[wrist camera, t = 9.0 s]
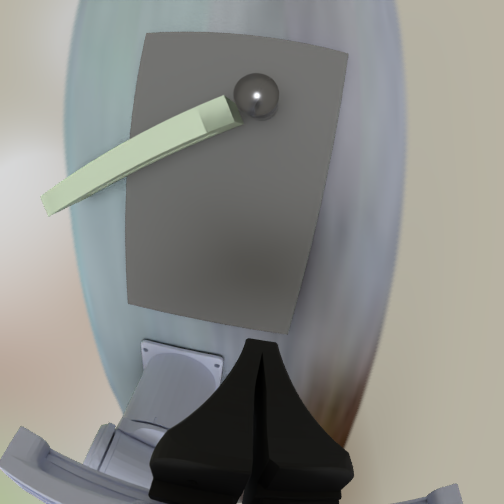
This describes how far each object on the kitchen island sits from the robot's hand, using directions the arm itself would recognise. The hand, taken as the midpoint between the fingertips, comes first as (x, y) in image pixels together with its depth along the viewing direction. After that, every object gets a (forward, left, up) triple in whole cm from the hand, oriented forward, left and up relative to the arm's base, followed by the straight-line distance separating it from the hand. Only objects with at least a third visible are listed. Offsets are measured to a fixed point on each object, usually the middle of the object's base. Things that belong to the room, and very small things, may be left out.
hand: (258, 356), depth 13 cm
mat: (+5, +4, -10) cm, 12 cm away
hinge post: (+11, +2, -10) cm, 15 cm away
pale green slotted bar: (+7, +9, -10) cm, 15 cm away
